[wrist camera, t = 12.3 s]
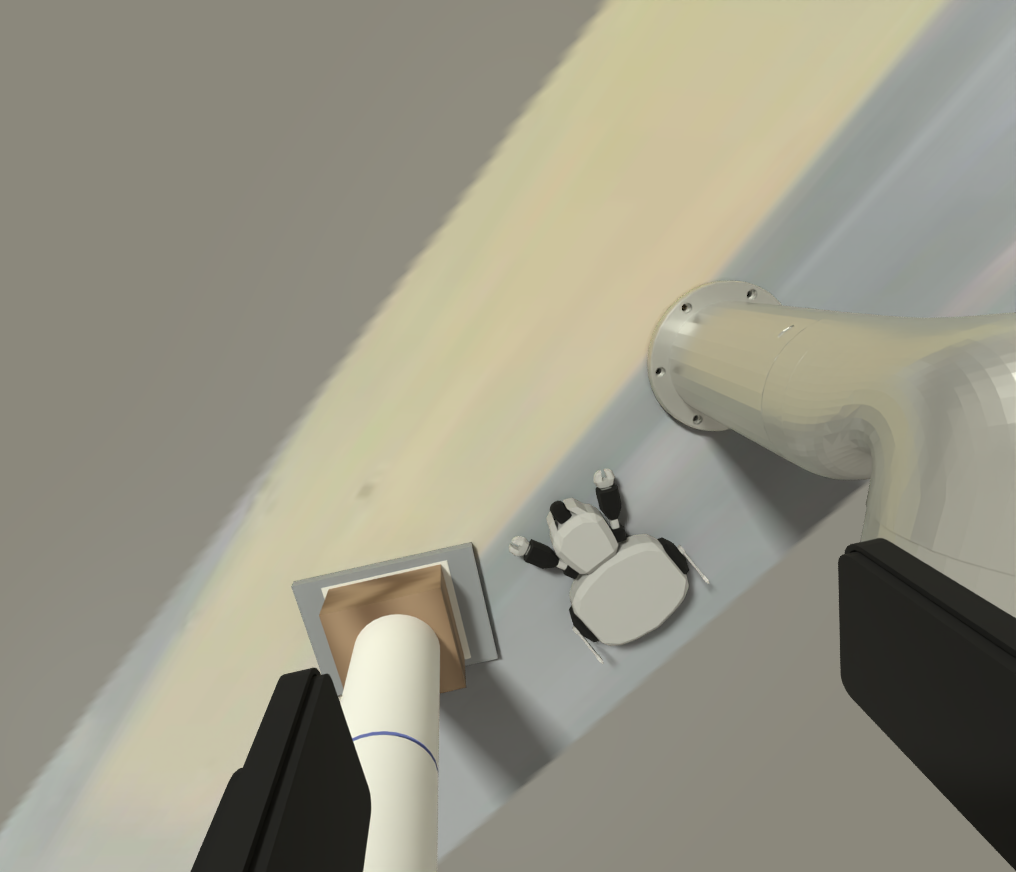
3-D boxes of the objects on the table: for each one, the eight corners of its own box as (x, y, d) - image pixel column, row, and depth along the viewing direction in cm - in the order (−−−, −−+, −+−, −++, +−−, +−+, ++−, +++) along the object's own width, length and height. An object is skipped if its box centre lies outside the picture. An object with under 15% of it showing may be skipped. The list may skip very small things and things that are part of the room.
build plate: (471, 542, 51) (471, 546, 50) (497, 653, 55) (497, 659, 54) (293, 581, 51) (291, 587, 50) (331, 691, 54) (329, 698, 53)
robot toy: (497, 534, 53) (596, 644, 56) (499, 556, 48) (606, 673, 51) (602, 450, 51) (697, 567, 54) (614, 464, 47) (717, 590, 50)
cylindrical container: (454, 633, 48) (463, 990, 24) (417, 698, 49) (390, 1097, 26) (376, 601, 46) (302, 951, 23) (339, 670, 48) (234, 1067, 24)
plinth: (440, 564, 51) (440, 588, 47) (464, 657, 53) (466, 687, 50) (328, 589, 50) (318, 615, 46) (358, 682, 53) (351, 714, 49)
